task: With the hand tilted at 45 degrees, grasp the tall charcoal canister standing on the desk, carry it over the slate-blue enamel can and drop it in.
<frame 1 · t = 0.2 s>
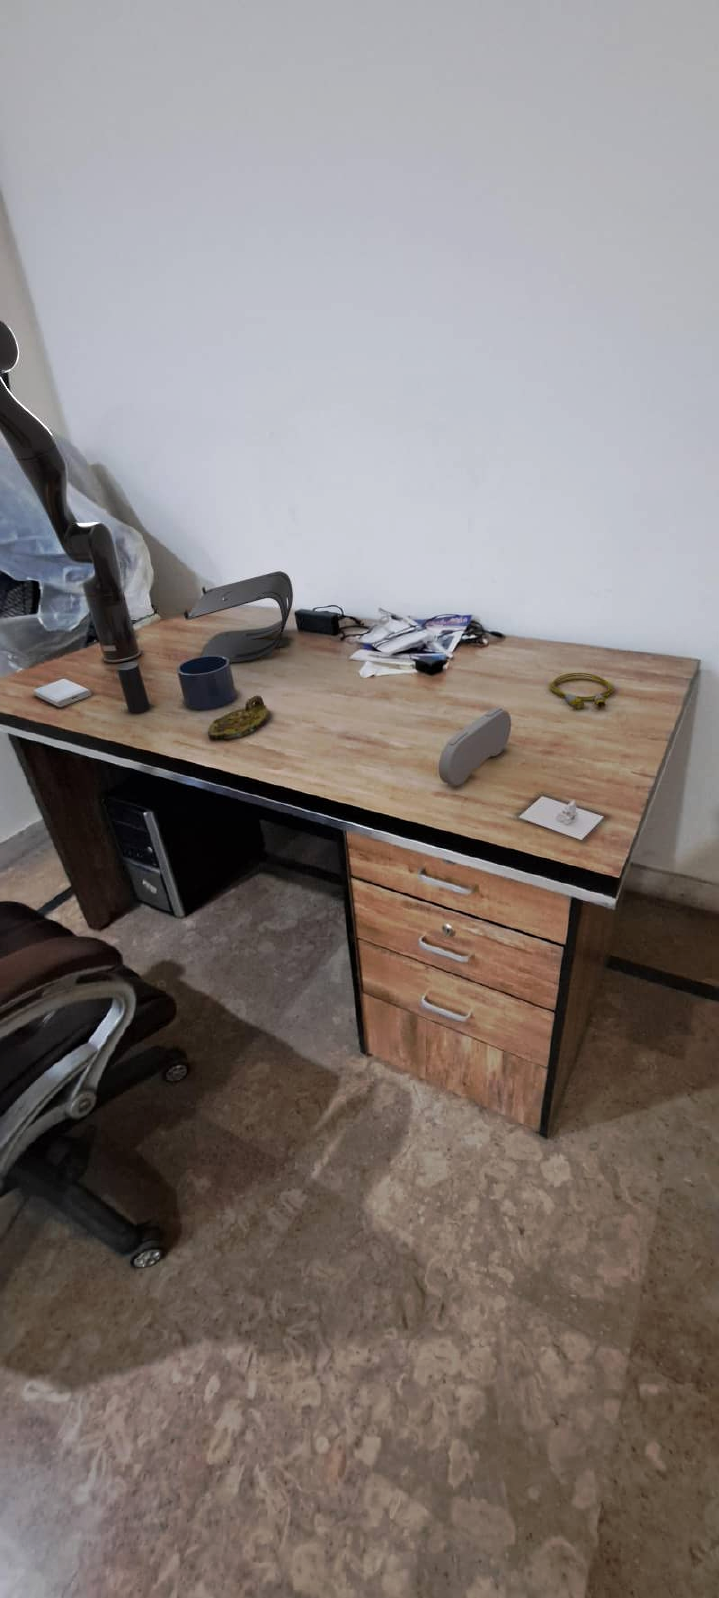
extension cord: (580, 694, 135), on the table
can: (210, 699, 148), on the table
hard drive: (63, 696, 158), on the table
game controller: (476, 768, 114), on the table
canister: (139, 709, 147), on the table
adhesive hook: (560, 818, 100), on the table
laptop stand: (249, 646, 177), on the table
bronze pendant: (239, 726, 136), on the table
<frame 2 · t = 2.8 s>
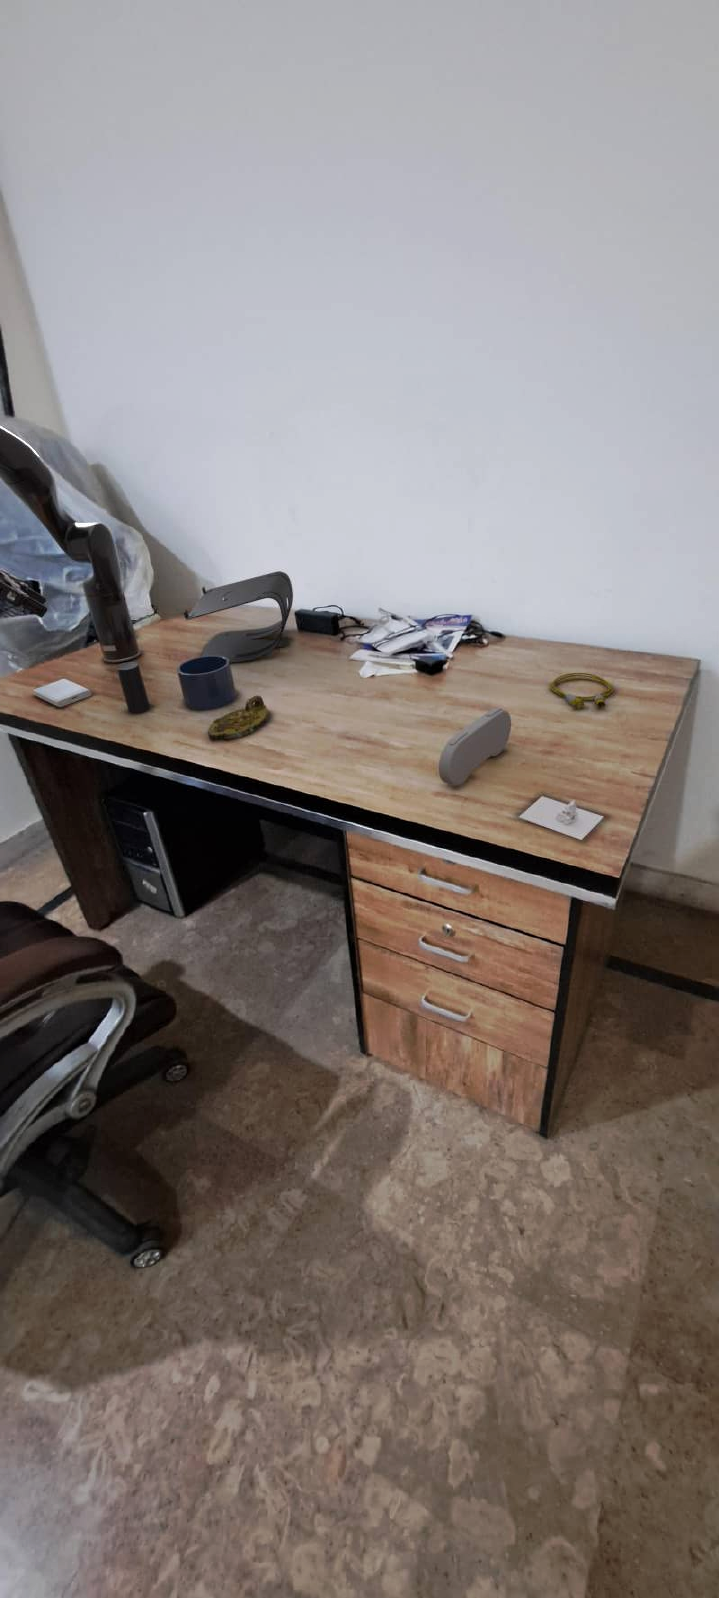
hand: (44, 608, 130), 25 cm above the table, tool tilted 45°, fingers open, 8 cm apart
nothing on the table moved.
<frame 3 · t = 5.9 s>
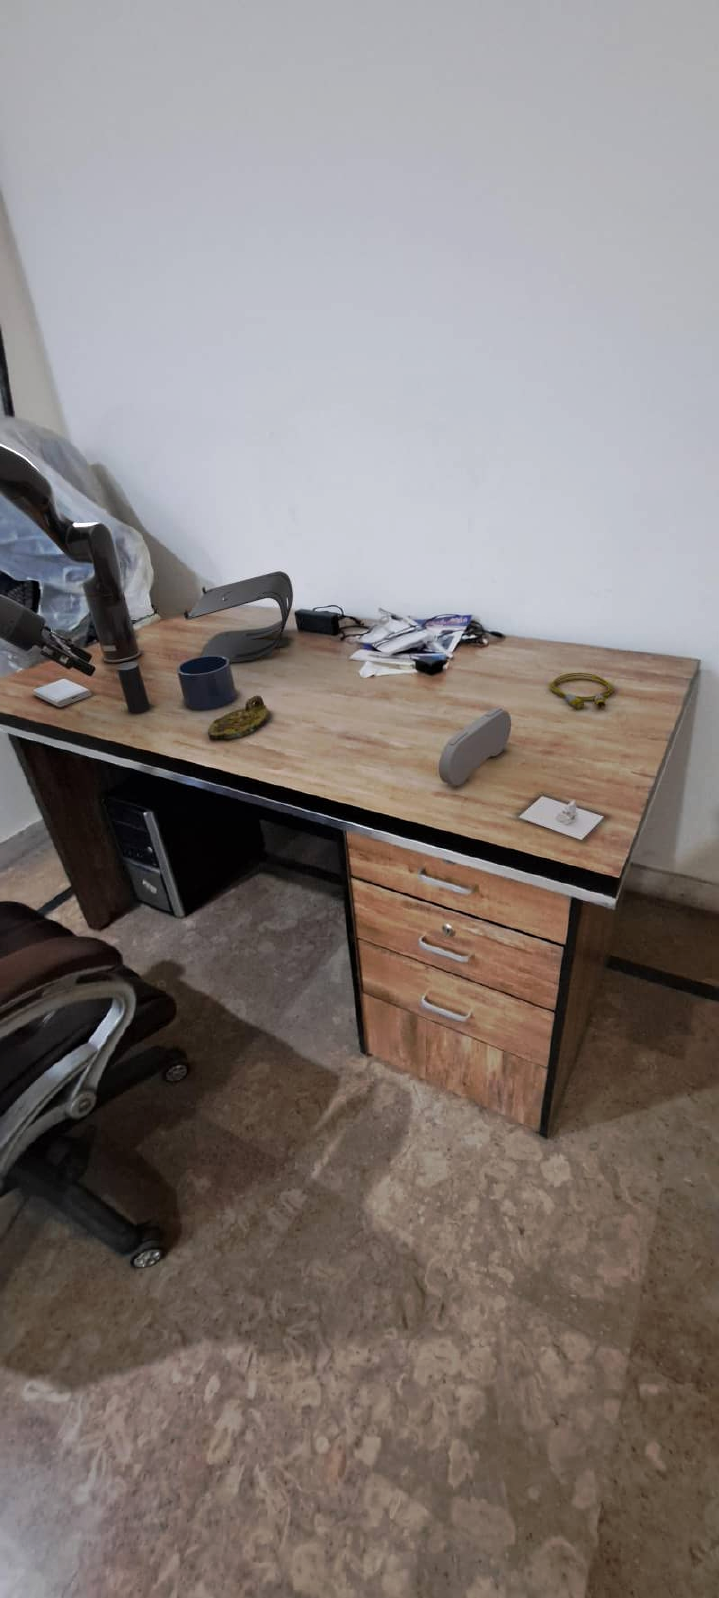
hand: (91, 665, 139), 12 cm above the table, tool tilted 45°, fingers open, 8 cm apart
nothing on the table moved.
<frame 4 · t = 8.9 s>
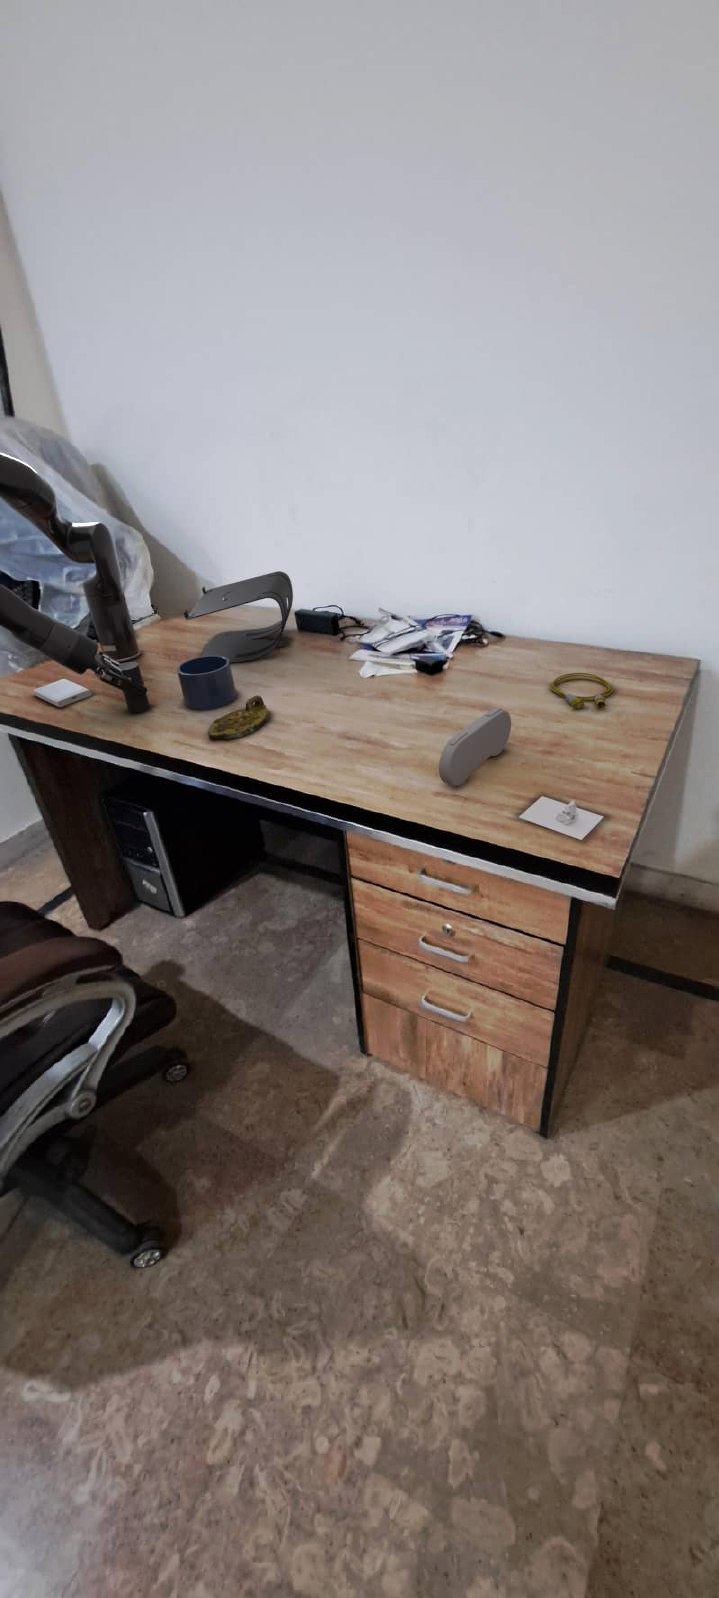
hand: (143, 688, 145), 4 cm above the table, tool tilted 45°, fingers closed on canister, 4 cm apart
canister: (139, 709, 147), on the table, touching gripper
everything else where it was.
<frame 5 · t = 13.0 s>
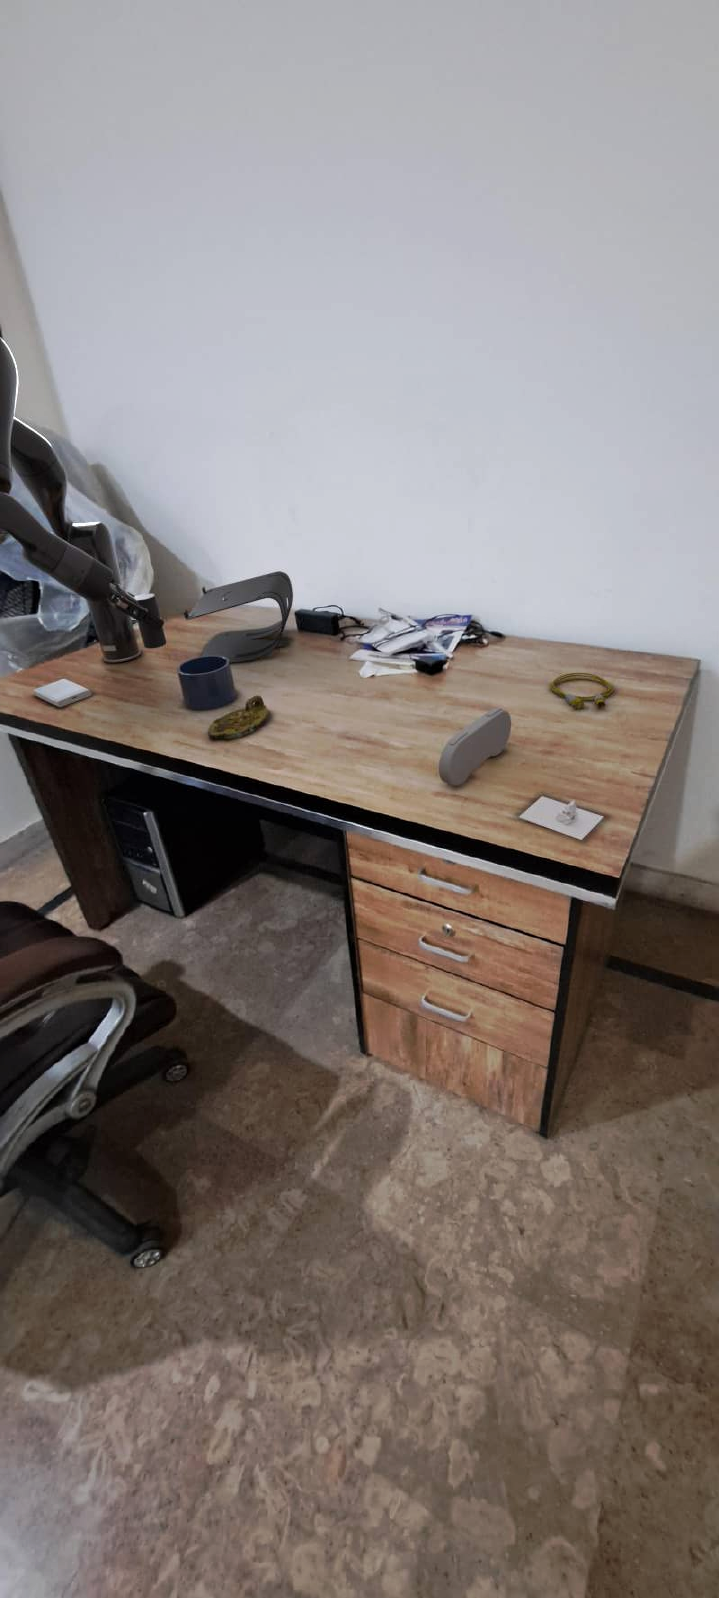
hand: (159, 622, 139), 18 cm above the table, tool tilted 45°, fingers closed on canister, 4 cm apart
canister: (155, 644, 140), point 14 cm above the table, touching gripper
everything else where it was.
when the fingers open (10 cm above the table, at t = 17.3 s): canister drops 5 cm, resting on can.
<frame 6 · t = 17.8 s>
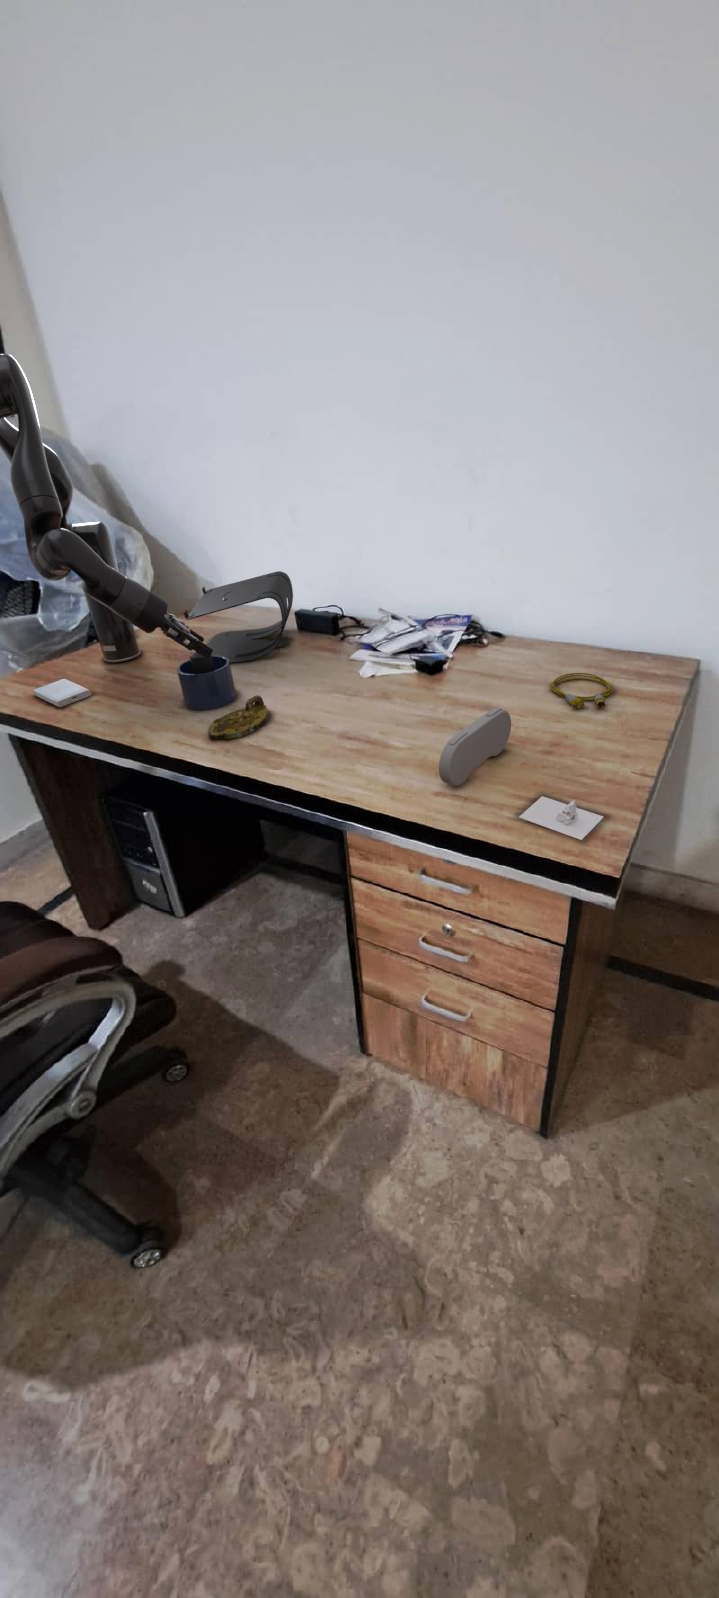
hand: (206, 648, 143), 11 cm above the table, tool tilted 45°, fingers open, 8 cm apart
canister: (209, 697, 148), point 1 cm above the table, touching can
everything else where it was.
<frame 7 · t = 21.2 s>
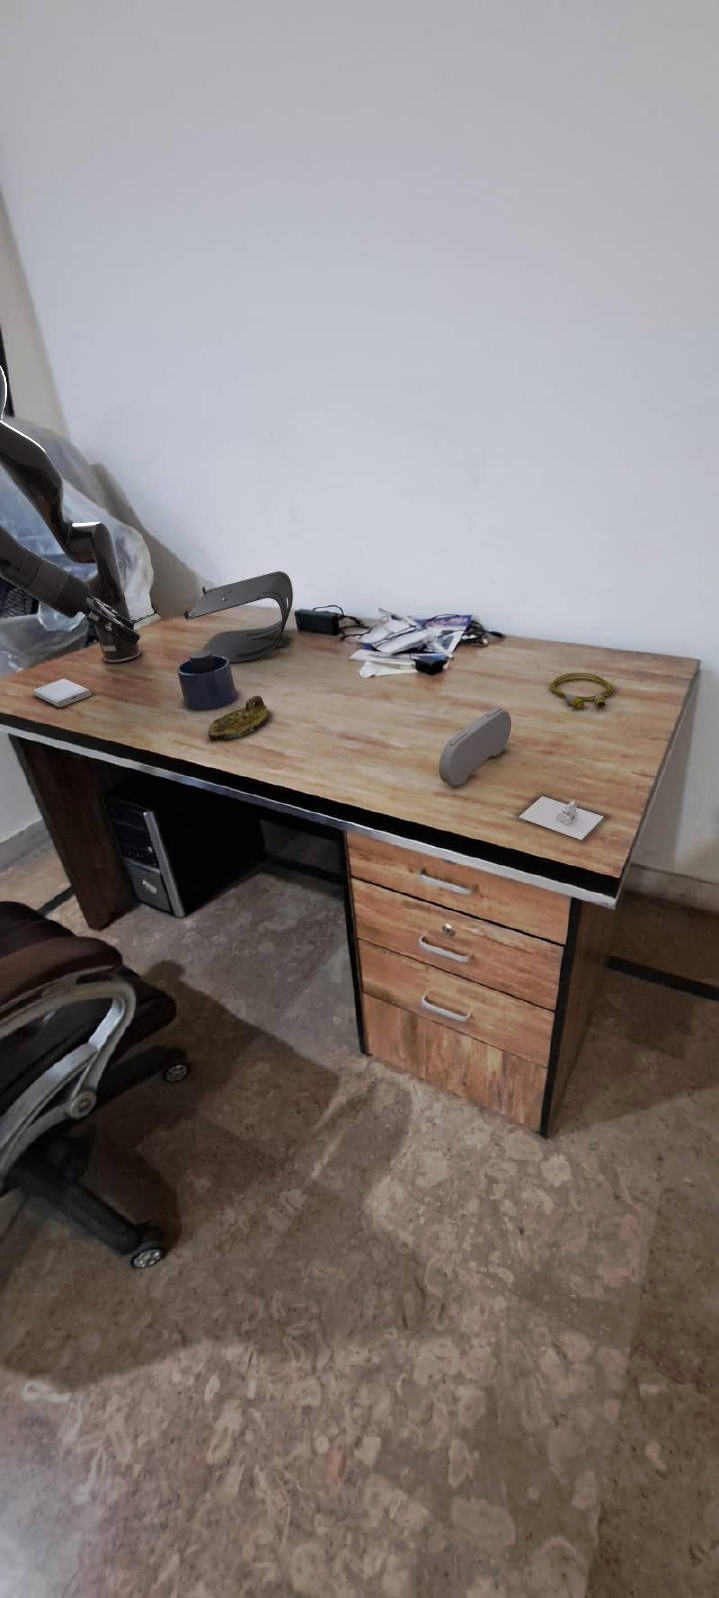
hand: (134, 634, 136), 17 cm above the table, tool tilted 45°, fingers open, 8 cm apart
nothing on the table moved.
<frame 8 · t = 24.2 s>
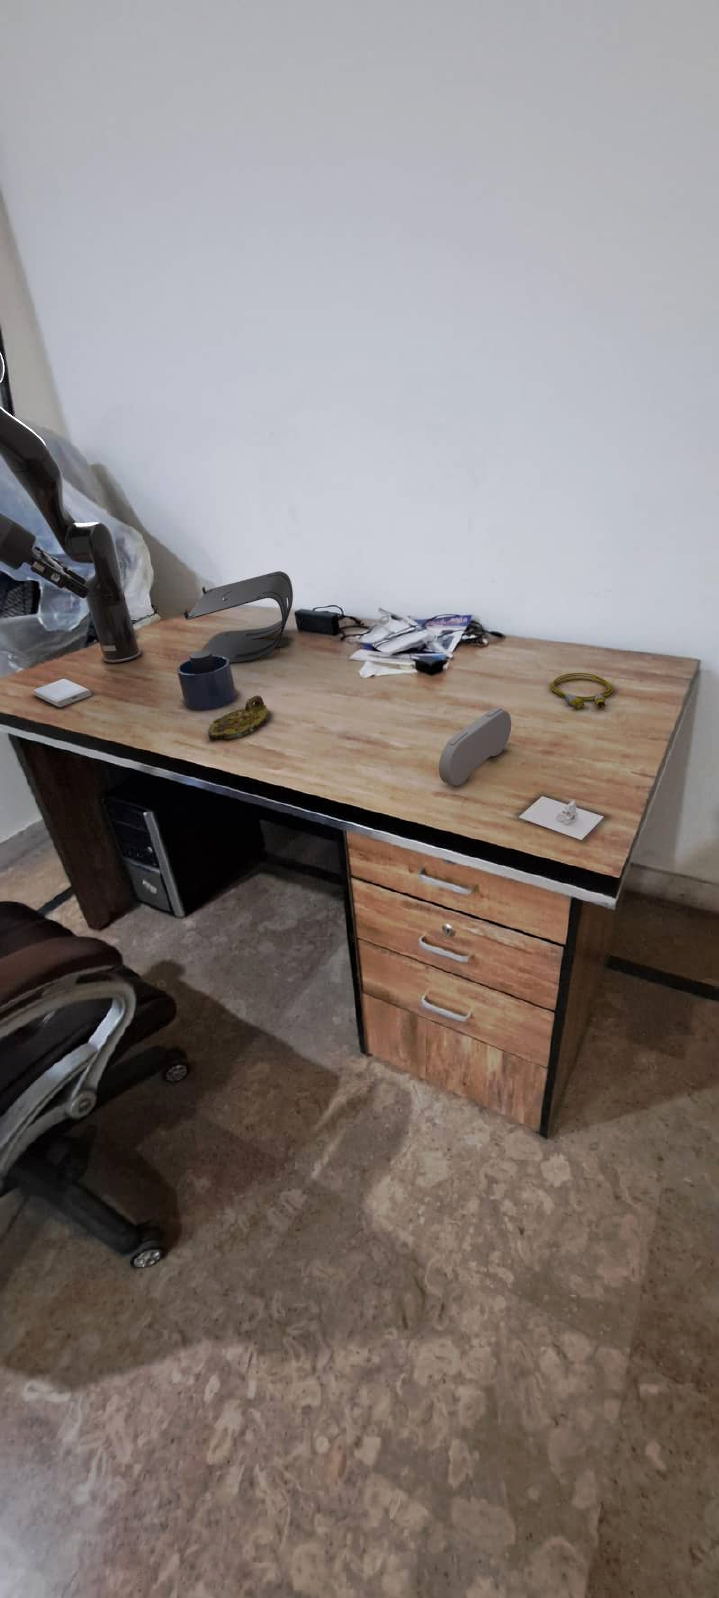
hand: (85, 589, 132), 27 cm above the table, tool tilted 45°, fingers open, 8 cm apart
nothing on the table moved.
at the end: canister inside the target area in the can (0.2 cm from its centre), point 0.5 cm above the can's base; the gripper is holding nothing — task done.
